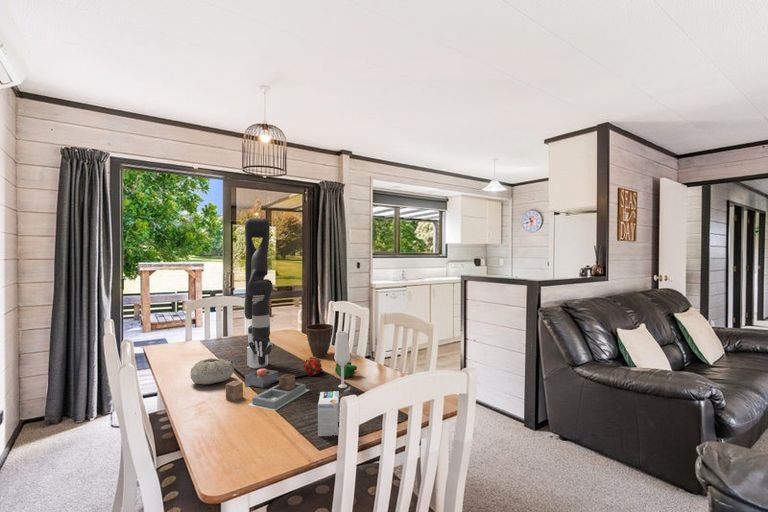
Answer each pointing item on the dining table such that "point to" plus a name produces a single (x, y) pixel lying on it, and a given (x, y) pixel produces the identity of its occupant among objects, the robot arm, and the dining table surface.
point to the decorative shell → (211, 371)
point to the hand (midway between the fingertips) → (261, 364)
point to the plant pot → (319, 338)
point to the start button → (261, 372)
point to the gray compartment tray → (277, 397)
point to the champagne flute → (342, 354)
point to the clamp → (346, 369)
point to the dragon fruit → (312, 366)
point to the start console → (261, 379)
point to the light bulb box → (328, 413)
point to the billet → (287, 382)
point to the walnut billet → (234, 390)
